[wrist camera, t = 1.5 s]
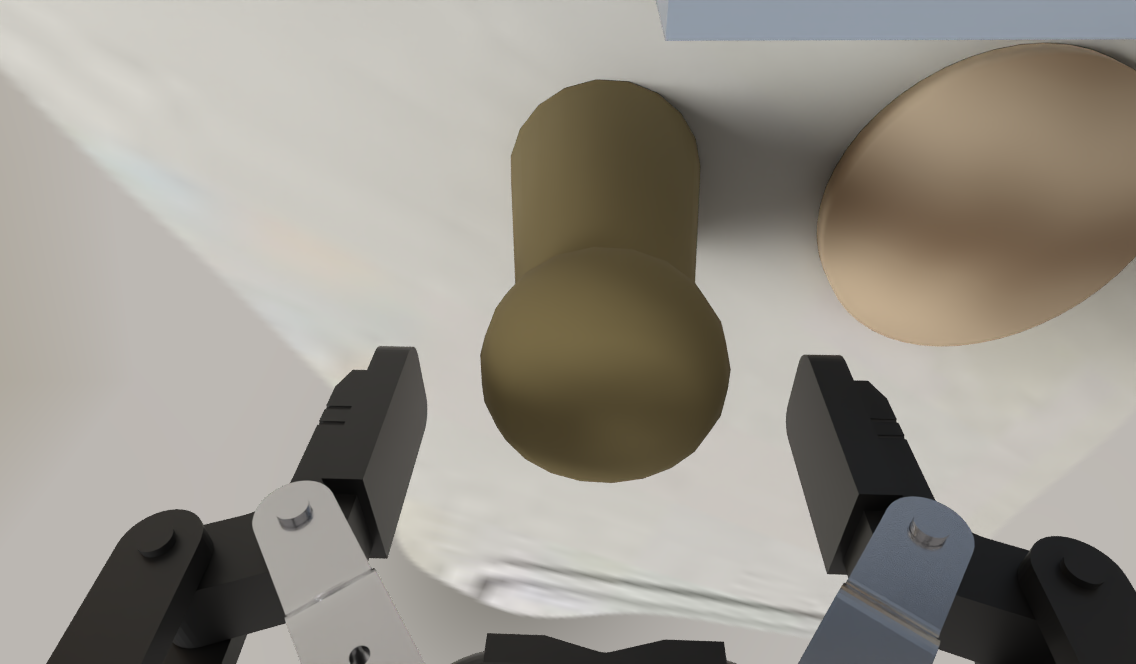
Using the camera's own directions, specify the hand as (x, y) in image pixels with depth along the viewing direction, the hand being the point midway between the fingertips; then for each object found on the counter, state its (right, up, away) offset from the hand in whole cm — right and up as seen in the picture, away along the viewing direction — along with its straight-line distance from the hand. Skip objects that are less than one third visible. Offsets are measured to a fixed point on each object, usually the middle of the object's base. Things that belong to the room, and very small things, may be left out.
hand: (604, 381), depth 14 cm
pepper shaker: (0, +6, +7) cm, 10 cm away
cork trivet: (+12, +5, +7) cm, 15 cm away
